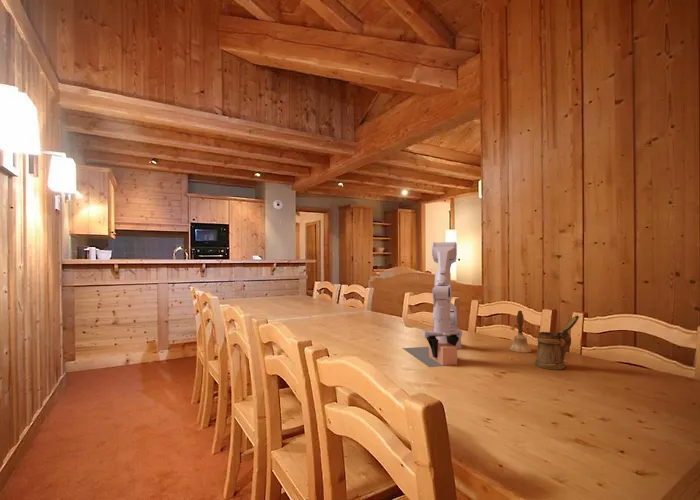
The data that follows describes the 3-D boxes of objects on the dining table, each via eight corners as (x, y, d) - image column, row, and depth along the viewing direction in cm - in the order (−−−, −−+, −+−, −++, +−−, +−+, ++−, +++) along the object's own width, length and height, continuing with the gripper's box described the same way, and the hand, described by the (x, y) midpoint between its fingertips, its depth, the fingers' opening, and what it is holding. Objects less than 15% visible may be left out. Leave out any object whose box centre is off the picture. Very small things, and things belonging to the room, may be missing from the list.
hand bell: (536, 352, 139) (535, 312, 140) (514, 352, 139) (514, 312, 140) (525, 347, 147) (525, 309, 148) (505, 347, 148) (505, 309, 148)
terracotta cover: (442, 355, 133) (442, 339, 133) (457, 364, 123) (457, 347, 123) (429, 356, 132) (428, 340, 132) (442, 365, 121) (442, 347, 122)
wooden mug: (582, 373, 115) (581, 317, 115) (536, 368, 120) (535, 315, 120) (577, 365, 123) (576, 313, 123) (533, 361, 128) (532, 311, 128)
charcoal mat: (428, 347, 147) (428, 346, 147) (460, 366, 122) (460, 364, 122) (402, 349, 145) (402, 348, 145) (429, 368, 120) (429, 366, 120)
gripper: (428, 321, 122) (428, 360, 122) (466, 319, 125) (466, 358, 125) (420, 318, 129) (420, 355, 129) (456, 316, 132) (456, 353, 132)
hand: (442, 356), depth 127 cm, fingers closed on terracotta cover, 5 cm apart
